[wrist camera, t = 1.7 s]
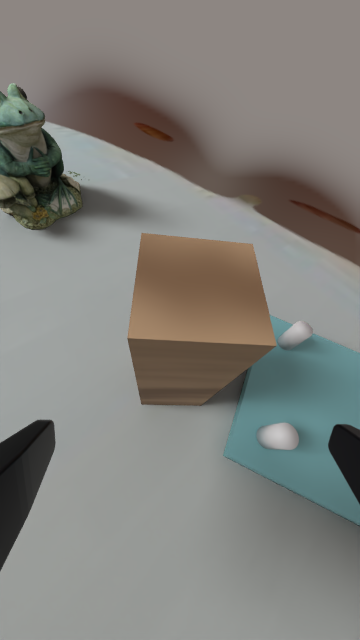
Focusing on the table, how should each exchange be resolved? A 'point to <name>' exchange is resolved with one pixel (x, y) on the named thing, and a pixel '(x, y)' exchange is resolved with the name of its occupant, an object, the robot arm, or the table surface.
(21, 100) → the frog figurine
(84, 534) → the table surface
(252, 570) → the table surface
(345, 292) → the table surface
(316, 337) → the peg plate
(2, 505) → the robot arm
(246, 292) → the walnut pillar
